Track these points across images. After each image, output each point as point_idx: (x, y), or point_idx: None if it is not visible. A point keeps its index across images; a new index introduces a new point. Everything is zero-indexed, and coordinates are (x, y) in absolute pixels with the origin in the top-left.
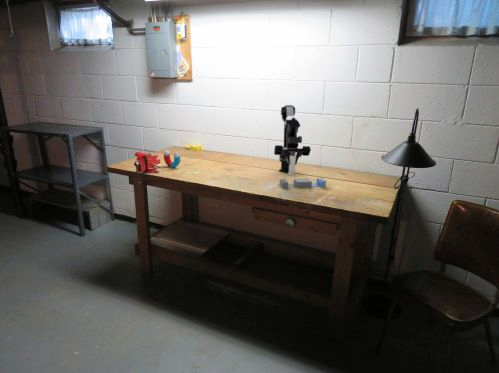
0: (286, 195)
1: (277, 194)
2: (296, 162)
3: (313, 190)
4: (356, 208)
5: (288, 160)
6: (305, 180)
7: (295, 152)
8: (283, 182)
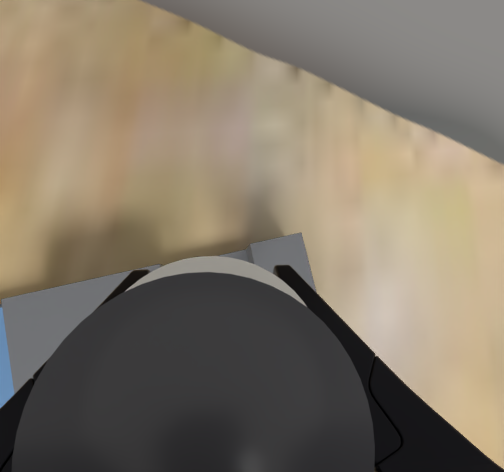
0: (260, 125)
1: (322, 140)
2: (128, 281)
3: (31, 258)
4: None
5: (314, 300)
6: (64, 334)
7: (55, 376)
8: (294, 238)
